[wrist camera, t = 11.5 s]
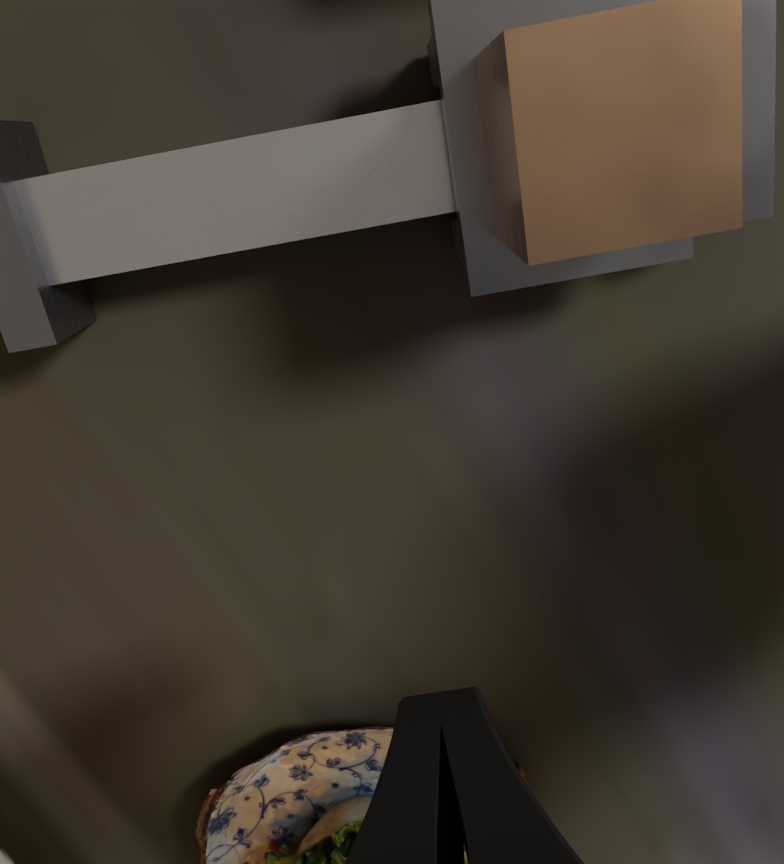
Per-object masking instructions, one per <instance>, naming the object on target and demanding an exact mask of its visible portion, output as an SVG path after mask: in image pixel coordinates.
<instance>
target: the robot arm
mask: <svg viewBox="0 0 784 864" xmlns="http://www.w3.org/2000/svg"><path fill="white" fill-rule="evenodd" d="M464 846H465V851H466V856H467V860H468V864H584V863H583V862H582V860H581V859H580V858H579V857H578V855H577V854H576V853H575V852H574V850H573V849H572V848H571V847H570V845H569V844H568V843H567V841H566V840H565V839H564V837H563V836H562V835H561V833H560V832H559V831H558V829H557V828H556V827H555V825H554V824H553V822H552V821H551V820H550V818H549V817H548V815H547V814H546V812H545V811H544V810H543V808H542V807H541V805H540V804H539V802H538V801H537V799H536V798H535V796H534V795H533V793H532V792H531V790H530V789H529V787H528V786H527V784H526V782H525V781H524V779H523V777H522V776H521V774H520V772H519V771H518V769H517V767H516V766H515V764H514V762H513V761H512V759H511V757H510V756H509V754H508V752H507V750H506V748H505V747H504V745H503V743H502V741H501V739H500V737H499V735H498V733H497V731H496V729H495V727H494V725H493V723H492V720H491V718H490V716H489V713H488V711H487V708H486V705H485V703H484V700H483V696H482V692H481V691H480V690H478V689H477V688H475V687H470V688H463V689H456V690H450V691H443V692H436V693H430V694H423V695H416V696H409V697H404V698H403V699H402V700H401V701H400V702H399V704H398V710H397V716H396V721H395V725H394V730H393V734H392V738H391V741H390V745H389V748H388V752H387V755H386V758H385V762H384V765H383V768H382V771H381V774H380V776H379V779H378V782H377V785H376V788H375V791H374V794H373V797H372V799H371V802H370V805H369V807H368V810H367V812H366V814H365V817H364V819H363V822H362V824H361V826H360V829H359V831H358V834H357V836H356V838H355V841H354V843H353V846H352V848H351V850H350V852H349V854H348V857H347V859H346V861H345V863H344V864H465V860H464Z"/></svg>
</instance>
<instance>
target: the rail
mask: <svg viewBox="0 0 784 864" xmlns="http://www.w3.org/2000/svg"><path fill="white" fill-rule="evenodd" d="M775 68H776V0H742V198H743V222H746V221H752V220H758V219H763V218H769V217H774V157H775ZM450 212H456V204H455V197H454V189H453V182H452V175H451V168H450V161H449V153H448V146H447V139H446V132H445V124H444V117H443V110H442V103H441V100H436V101H431V102H426V103H421V104H415V105H410V106H405V107H400V108H394V109H389V110H384V111H379V112H374V113H368V114H363V115H358V116H353V117H347V118H342V119H337V120H332V121H326V122H321V123H316V124H311V125H305V126H300V127H295V128H290V129H284V130H279V131H274V132H269V133H264V134H258V135H253V136H248V137H243V138H237V139H232V140H227V141H222V142H216V143H211V144H206V145H201V146H195V147H190V148H185V149H180V150H174V151H169V152H164V153H159V154H154V155H148V156H143V157H138V158H133V159H127V160H122V161H117V162H112V163H106V164H101V165H96V166H91V167H85V168H80V169H75V170H70V171H64V172H59V173H54V174H49V172H48V169H47V166H46V163H45V160H44V157H43V154H42V151H41V148H40V145H39V141H38V138H37V135H36V132H35V129H34V126H33V123H32V122H17V121H0V331H1V334H2V337H3V339H4V342H5V345H6V347H7V350H8V353H12V352H18V351H23V350H29V349H35V348H40V347H46V346H51V345H57V344H59V343H60V342H62V341H64V340H65V339H67V338H68V337H70V336H72V335H73V334H75V333H77V332H78V331H80V330H81V329H83V328H85V327H86V326H88V325H90V324H91V323H93V322H94V321H96V317H95V314H94V311H93V308H92V305H91V301H90V298H89V295H88V292H87V289H86V286H85V283H84V279H89V278H95V277H100V276H106V275H111V274H116V273H122V272H127V271H133V270H138V269H144V268H149V267H155V266H160V265H166V264H171V263H177V262H182V261H188V260H193V259H199V258H204V257H209V256H215V255H220V254H226V253H231V252H237V251H242V250H248V249H253V248H259V247H264V246H270V245H275V244H281V243H286V242H292V241H297V240H302V239H308V238H313V237H319V236H324V235H330V234H335V233H341V232H346V231H352V230H357V229H363V228H368V227H374V226H379V225H385V224H390V223H395V222H401V221H406V220H412V219H417V218H423V217H428V216H434V215H439V214H445V213H450Z"/></svg>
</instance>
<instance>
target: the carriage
mask: <svg viewBox="0 0 784 864" xmlns="http://www.w3.org/2000/svg"><path fill="white" fill-rule="evenodd" d="M428 9H429V16H430V23H431V31H432V36H431V38H430V41H429V43H428V45H427V51H428V58H429V65H430V72H431V80H432V87H433V88H435V87H439V88H440V96H441V103H442V110H443V117H444V124H445V132H446V139H447V146H448V153H449V161H450V168H451V175H452V182H453V189H454V197H455V204H456V211H457V218H458V219H454V220H451V221H452V228H453V235H454V242H455V249H456V256H457V257H458V259H459V260H460V262H461V263H462V265H463V266H464V269H465V276H466V283H467V291H468V292H469V294H470V296H471V297H474V296H480V295H486V294H491V293H497V292H503V291H508V290H514V289H520V288H525V287H531V286H537V285H542V284H548V283H554V282H559V281H565V280H571V279H576V278H582V277H588V276H593V275H599V274H605V273H610V272H616V271H622V270H627V269H633V268H639V267H644V266H650V265H656V264H661V263H667V262H673V261H678V260H684V259H690V258H693V237H694V236H699V235H705V234H710V233H716V232H722V231H727V230H733V229H738V228H743V198H742V0H430V1H429V4H428Z"/></svg>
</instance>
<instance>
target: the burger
mask: <svg viewBox="0 0 784 864" xmlns="http://www.w3.org/2000/svg"><path fill="white" fill-rule="evenodd" d="M393 730H394V727H381V726H372V727H364V728H359V729H353V730H339V731H322V732H311V733H307V734H303V735H301V736H299V737H297V738H295V739H293V740H291V741H289V742H287V743H283V745H282V746H281V747H279V748H277V749H276V750H274V751H272V752H271V753H269V754H267V755H265V756H263V757H262V758H260V759H258V760H256V761H255V762H253V763H250V764H248V765H245V766H243V767H241V768H240V769H239V770H237V771H236V772H234V773H233V774H232V775H231V778H230V779H229V780H228V781H226V782H225V783H224V784H223V785H222V786H220V787H219V788H218V789H211V791H210V793H209V795H208V796H207V798H206V800H205V801H204V803H203V805H202V807H201V810H200V814H199V817H198V821H197V824H196V828H195V831H194V835H195V836H196V837H197V839H198V840H199V844H200V848H201V854H200V859H201V860H200V863H199V864H344V863H345V861H346V859H347V857H348V854H349V852H350V850H351V848H352V846H353V843H354V841H355V838H356V836H357V834H358V831H359V829H360V826H361V824H362V822H363V819H364V817H365V814H366V812H367V810H368V807H369V805H370V802H371V799H372V797H373V794H374V791H375V788H376V785H377V782H378V779H379V776H380V774H381V771H382V768H383V765H384V762H385V758H386V755H387V752H388V748H389V745H390V741H391V738H392V734H393ZM517 769H518V771H519V772H520V774H521V776H522V777H523V779H524V781H525V782H526V784H527V786H528V787H529V789H530V786H529V782H528V779H527V776H526V773H525V771H524V770H523V769H522V766H521V765H520V764H517ZM524 776H525V777H526V778H524ZM464 860H465V864H468V860H467V856H466V851H465V846H464Z"/></svg>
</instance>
